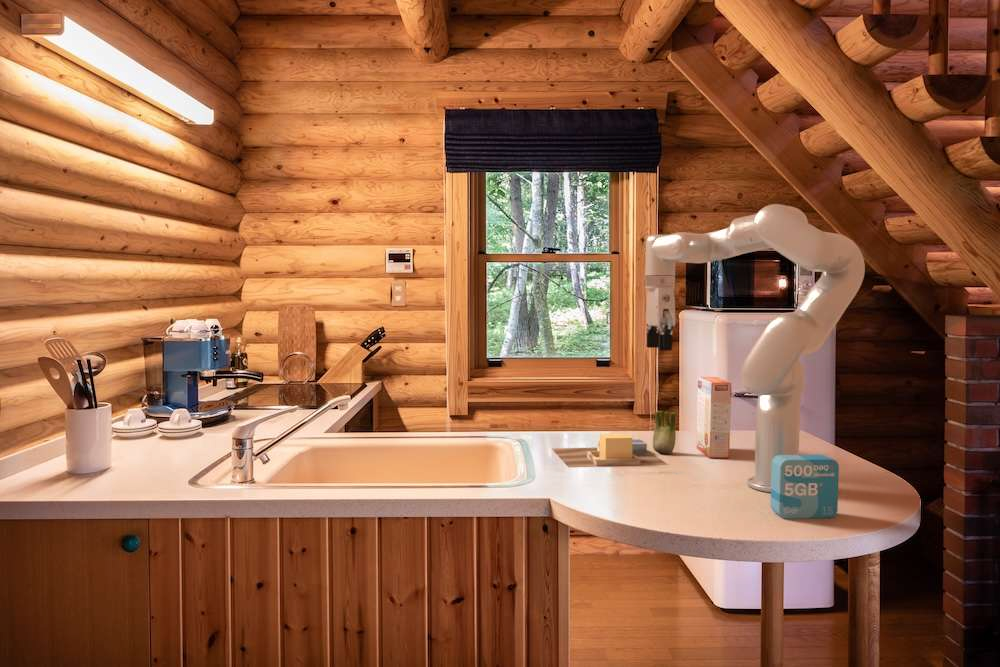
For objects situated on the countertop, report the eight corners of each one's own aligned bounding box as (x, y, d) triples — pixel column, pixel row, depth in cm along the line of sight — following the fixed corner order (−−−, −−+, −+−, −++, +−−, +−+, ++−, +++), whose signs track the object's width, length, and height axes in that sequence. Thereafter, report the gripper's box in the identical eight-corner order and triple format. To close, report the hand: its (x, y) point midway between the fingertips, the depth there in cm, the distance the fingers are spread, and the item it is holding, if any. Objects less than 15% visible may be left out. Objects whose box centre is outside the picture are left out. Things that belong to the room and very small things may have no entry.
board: (668, 469, 188) (668, 452, 187) (568, 471, 185) (568, 455, 184) (641, 450, 210) (641, 435, 209) (551, 452, 206) (551, 437, 206)
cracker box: (730, 458, 200) (732, 382, 199) (708, 458, 200) (710, 382, 199) (716, 447, 214) (718, 376, 213) (695, 447, 214) (697, 376, 213)
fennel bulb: (677, 454, 205) (678, 411, 204) (664, 456, 202) (665, 413, 202) (661, 450, 210) (662, 408, 209) (649, 452, 207) (650, 410, 206)
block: (632, 462, 189) (632, 437, 189) (605, 463, 188) (605, 438, 188) (625, 457, 195) (625, 433, 195) (599, 458, 194) (599, 433, 194)
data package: (779, 519, 147) (780, 459, 147) (769, 512, 152) (771, 454, 151) (837, 518, 148) (839, 459, 147) (826, 511, 152) (828, 454, 152)
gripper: (686, 282, 183) (685, 351, 184) (662, 283, 200) (661, 346, 201) (657, 282, 182) (655, 351, 183) (635, 283, 199) (634, 346, 200)
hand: (658, 348), depth 192 cm, fingers open, 9 cm apart
